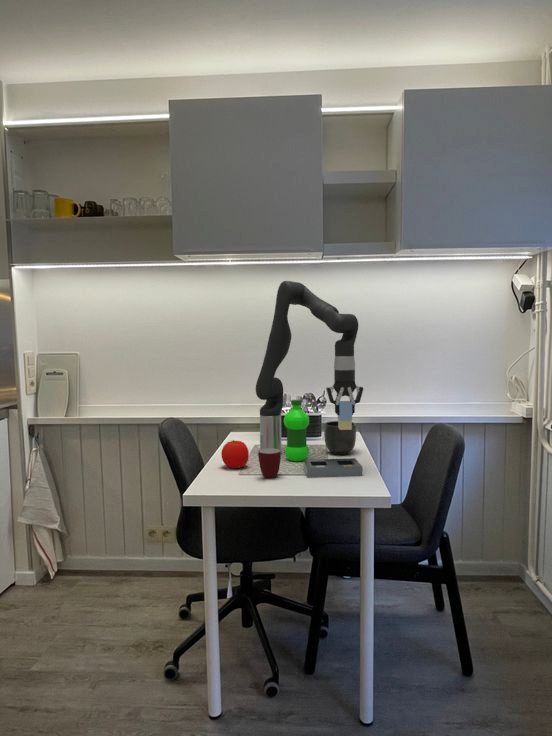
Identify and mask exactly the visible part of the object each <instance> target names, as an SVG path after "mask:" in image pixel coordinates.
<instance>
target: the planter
mask: <svg viewBox="0 0 552 736" xmlns="http://www.w3.org/2000/svg"><path fill="white" fill-rule="evenodd" d="M323 434H324V435H323V436H324V444H325V447H326V449H327V450H328V451H329V452H330V453H331V454H332V455H335V456H347V455H349V454H350V453H351V452H352V451H353V450H354V448H355V445H356V442H357V441H356V439H357V424H356V423H355V422H353V421H352V430H340V429H339V428H338V420H331V421H326V422H324V424H323Z"/></svg>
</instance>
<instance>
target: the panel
mask: <svg viewBox="0 0 552 736" xmlns="http://www.w3.org/2000/svg"><path fill="white" fill-rule="evenodd" d="M302 462H303V463H302V465H303V471H304V473H305V476H306V479H307V478H308V479H310V478H311V479H315V478H321V479H322V478H348V477H349V478H351V477H363V466H362V465H361V463H360V462H359V461H358V460H357V458H355V457H354V458H353V457H352V458H351V457H350V458H318V459H317V458H315V459H305V460H303V461H302Z"/></svg>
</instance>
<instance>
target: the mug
mask: <svg viewBox="0 0 552 736" xmlns="http://www.w3.org/2000/svg"><path fill="white" fill-rule="evenodd" d="M281 458H282V454H281V451H280V450H279V449H273V448H268V449H261V450H260V449H259V450H258V463H259V468H260V472H261V475H262V477H263V478H264V479H268V480H269V479H276V478H277V476H278V474H279V471H280V467H281V460H282V459H281Z"/></svg>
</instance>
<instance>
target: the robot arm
mask: <svg viewBox="0 0 552 736" xmlns="http://www.w3.org/2000/svg"><path fill="white" fill-rule="evenodd" d="M290 305H293V306H294V305H295V306H296V305H297V306H298V305H299V306H301V307H305V308H307V309H308V310H309V311H310V313H311V314H312V315H313V316H314V317H315V318H316V319H318V321H321V322H322V323H324V324H325V325H326V326H327V327H328V328H329V330H331V331H332V332H334V333H336V334H342V336H341V339H338V340H337V341H335V343H334V361H333V364H334V365H333V372H334V374H333V375H334V376H333V378H334V379H333V380H334V382H333V385H332V386H329V387H328V386H327V387H326V388H325V390H326V393H327V396H328V400H329V403H331V404H333V405H334V413H335V414H336V416H338V415H339V402H340V401H341V399H342V397H345V396H346V397H348V399H349V401H350V402H352V416H353V415H354V414H355V412H356V409H355V408H356V406H355V405H356V404H359V403H360V402H361V398H362V396H363V392H364V387H363V386H359V385H357V384H356V361H355V360H356V359H355V344H356V340H357V335H358V331H359V321H358V318H357V317H356V315H355V314H352V313H340V312H339V310H338V308H336V306H333V305H332V304H331V303H329V302H327V301H325V300H323V299H322V298H320V297H318V296H317V295H316V294H315V293H314V292H312V291H311V290H310V289H309V288H308V287H307V286H305V285H304V284H303V283H301V282H298V281H291V280H283V281H282V282H281V283H280V284H279V286H278V289H277V293H276V299H275V307H274V314H273V319H272V322H271V328H270V332H269V336H268V341H267V345H266V350H265V353H264V357H263V358H264V359H263V362H262V365H261V369H260V372H259V374H258V377H257V380H256V384H255V393H256V396H257V398H258V399H259V400H262V401H265V403H264V405H262V406H261V407H260V408H259V425H260V426H259V427H260V428H259V450H261V449H268V448H273V449H279V450H280V451H281V455H282V453H283V452H282V447H283V446H282V444H283V443H282V409H283V408H284V407H283V406H284V386H283V382H282V380H281V379H280V378H278V377H275V375H276V372H277V370H278V368H279V366H280V365H281V363H282V362H283V361H284V360H285V358H286V356H287V355H288V353H289V349H290V346H291V342H292V341H291V340H292V331H291V328H290V324H289V320H288V317H289V316H288V314H289V309H290ZM334 390H335V393H336V394H335V399H334V396H333V394H332V393H333V392H334ZM355 390H356V397H354V394H353V393H354V392H355Z"/></svg>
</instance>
